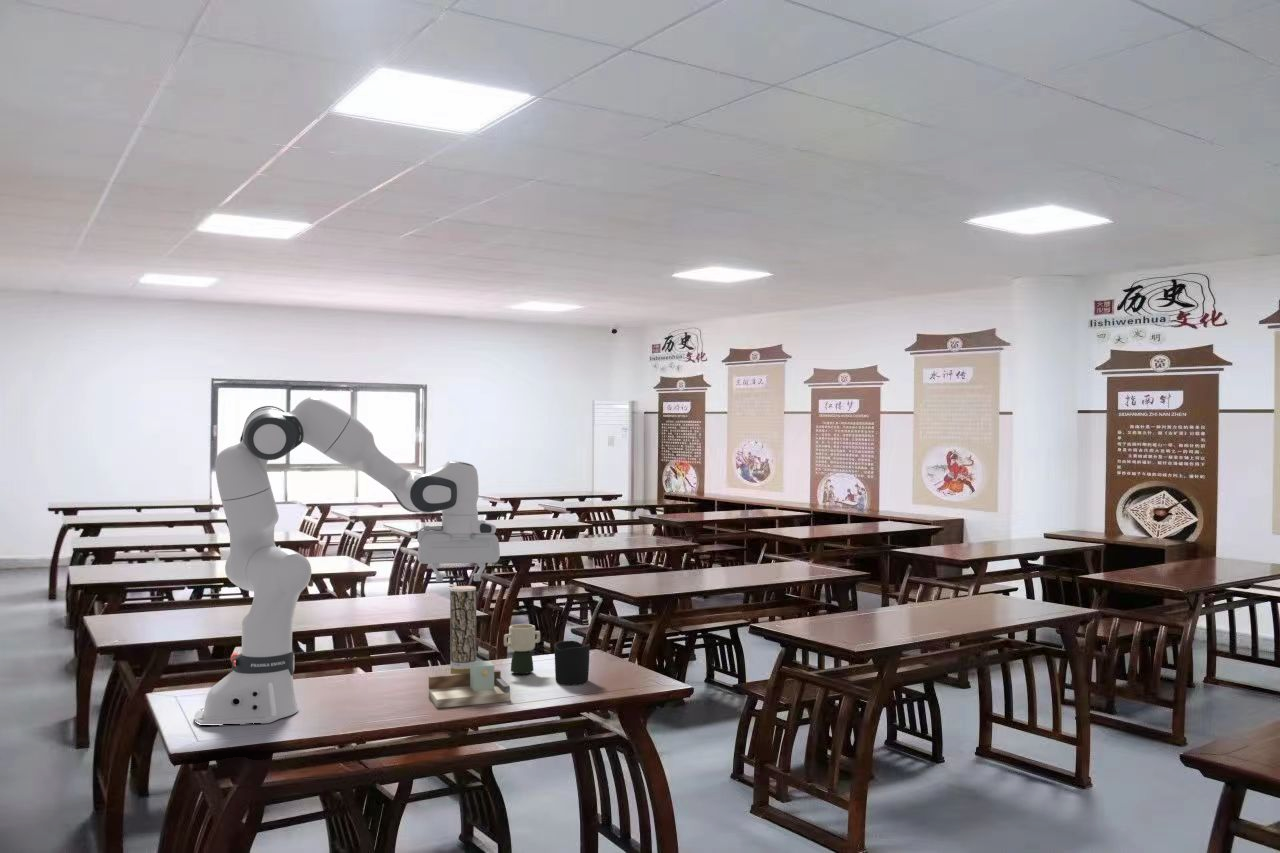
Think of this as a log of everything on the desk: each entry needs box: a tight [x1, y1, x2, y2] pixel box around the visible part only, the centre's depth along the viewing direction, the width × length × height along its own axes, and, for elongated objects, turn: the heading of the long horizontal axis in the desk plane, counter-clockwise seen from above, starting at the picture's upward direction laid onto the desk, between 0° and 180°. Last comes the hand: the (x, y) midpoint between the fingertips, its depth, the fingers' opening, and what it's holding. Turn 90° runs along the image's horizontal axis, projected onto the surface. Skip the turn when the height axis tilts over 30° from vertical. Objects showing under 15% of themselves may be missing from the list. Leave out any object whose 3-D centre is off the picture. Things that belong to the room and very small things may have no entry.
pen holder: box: [553, 640, 591, 686], centre depth 258 cm, size 9×9×10 cm
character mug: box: [503, 623, 541, 675], centre depth 267 cm, size 11×7×13 cm, turn 121°
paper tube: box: [449, 585, 477, 674], centre depth 257 cm, size 7×7×25 cm
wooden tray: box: [428, 669, 511, 709], centre depth 240 cm, size 18×12×5 cm, turn 112°
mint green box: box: [470, 660, 495, 691], centre depth 242 cm, size 5×6×6 cm
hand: (458, 581), depth 242 cm, fingers open, 8 cm apart
